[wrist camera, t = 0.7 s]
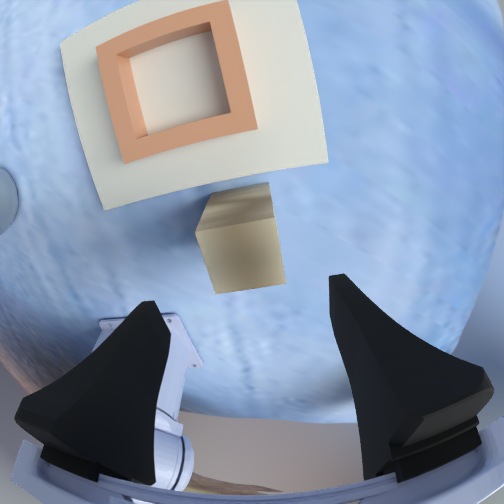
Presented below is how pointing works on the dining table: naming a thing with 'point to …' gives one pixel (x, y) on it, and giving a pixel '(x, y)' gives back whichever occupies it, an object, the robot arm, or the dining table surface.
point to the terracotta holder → (157, 34)
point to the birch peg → (241, 239)
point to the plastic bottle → (7, 200)
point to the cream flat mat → (198, 99)
